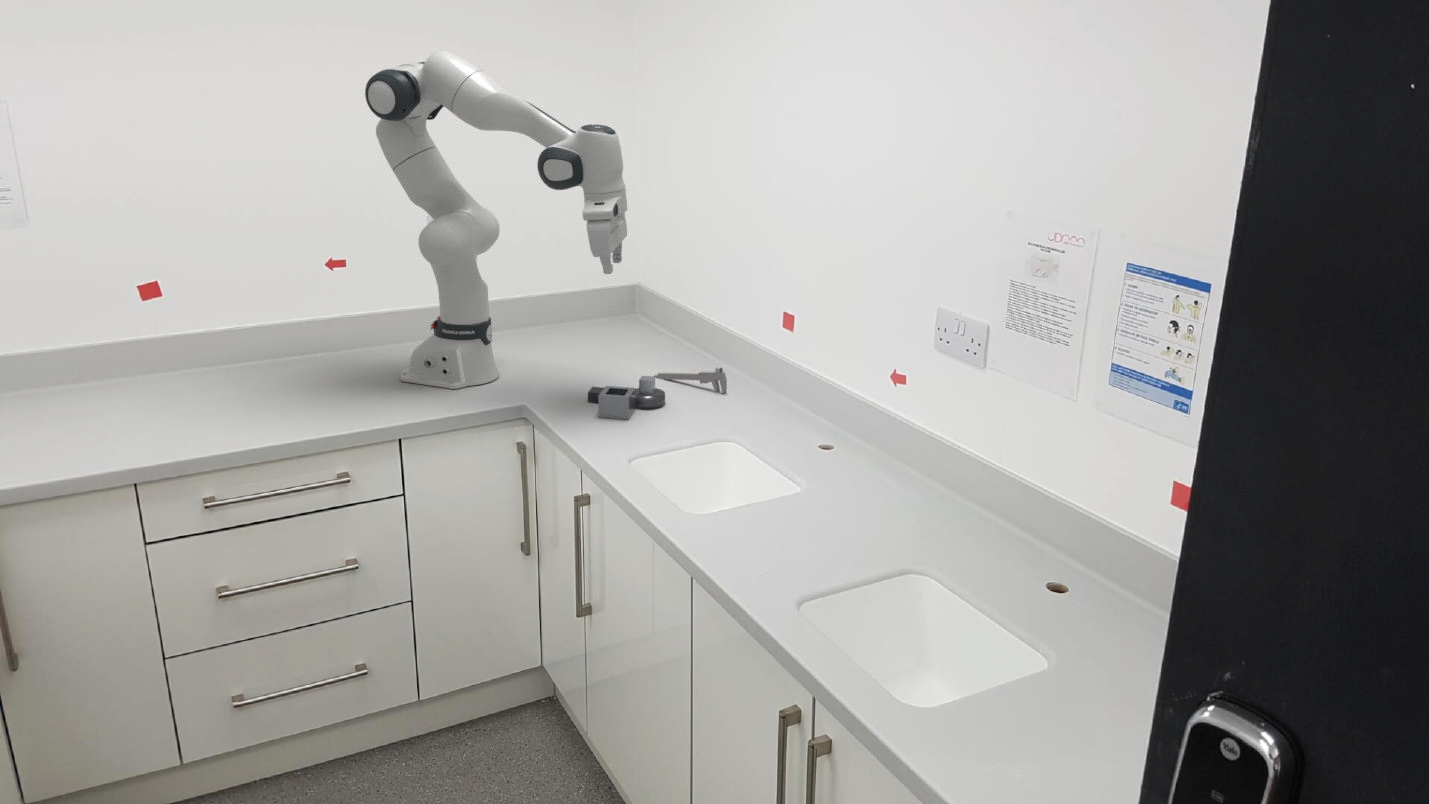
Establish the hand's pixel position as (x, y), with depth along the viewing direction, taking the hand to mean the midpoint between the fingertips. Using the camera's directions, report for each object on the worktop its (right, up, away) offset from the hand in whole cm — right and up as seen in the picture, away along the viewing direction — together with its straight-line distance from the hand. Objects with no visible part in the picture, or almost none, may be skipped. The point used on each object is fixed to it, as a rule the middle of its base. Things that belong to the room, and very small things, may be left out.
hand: (613, 267), depth 236 cm
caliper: (+16, -25, +22) cm, 37 cm away
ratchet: (+2, -29, +9) cm, 30 cm away
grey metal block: (+1, -31, +2) cm, 32 cm away
